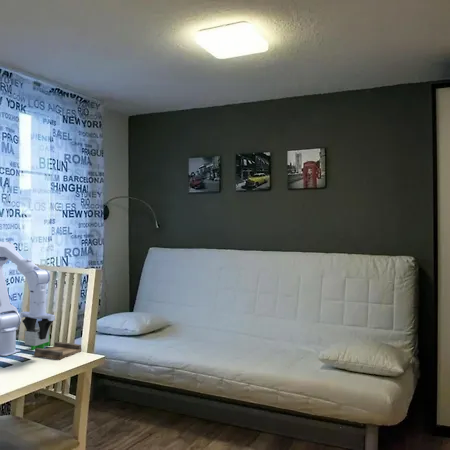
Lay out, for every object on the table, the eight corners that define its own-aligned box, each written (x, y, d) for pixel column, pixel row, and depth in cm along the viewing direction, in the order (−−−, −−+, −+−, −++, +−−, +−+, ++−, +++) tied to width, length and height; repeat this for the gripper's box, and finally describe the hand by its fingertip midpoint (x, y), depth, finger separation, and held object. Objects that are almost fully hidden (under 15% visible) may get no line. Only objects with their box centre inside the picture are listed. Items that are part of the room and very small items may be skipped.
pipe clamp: (39, 351, 195) (39, 339, 195) (30, 350, 195) (31, 339, 195) (52, 343, 206) (52, 333, 206) (44, 343, 206) (44, 332, 206)
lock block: (24, 344, 179) (25, 330, 179) (38, 340, 185) (38, 326, 185) (35, 346, 177) (35, 331, 177) (48, 341, 183) (49, 328, 183)
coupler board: (34, 355, 187) (34, 349, 187) (57, 348, 199) (57, 341, 199) (59, 359, 183) (59, 352, 183) (81, 351, 195) (81, 344, 195)
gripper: (14, 301, 180) (13, 338, 180) (45, 305, 175) (45, 342, 175) (28, 299, 186) (28, 334, 186) (59, 302, 181) (58, 338, 181)
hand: (37, 338), depth 181 cm, fingers closed on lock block, 5 cm apart
